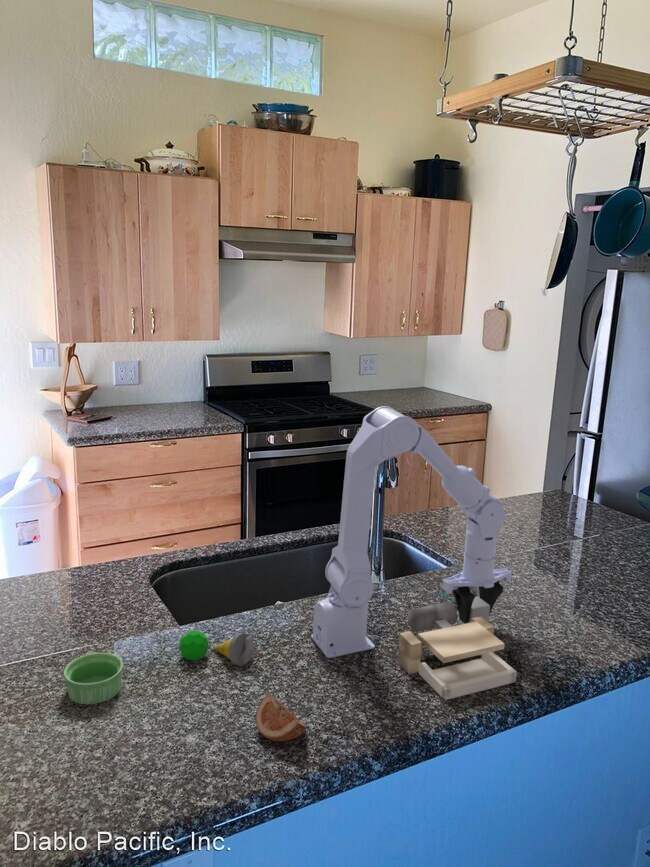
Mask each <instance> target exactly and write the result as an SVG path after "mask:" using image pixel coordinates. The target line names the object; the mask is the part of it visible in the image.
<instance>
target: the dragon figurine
mask: <svg viewBox="0 0 650 867" xmlns="http://www.w3.org/2000/svg"><path fill="white" fill-rule="evenodd" d="M475 588H476V586H472V587H469V590H471V591H470V592H471V593H472V594H474V595H475V597H477V596H478V597H479V595H478V592H476V589H475ZM430 593H431V594H436V595H438V596H443V597H447V596H448V597H450V599H451V600H454V601H456V600H455V597H454V595H453V593H452V592H450V593H447V592H445V593H444V594H441V593H439V592H436V591H435V592H432V591H431V592H430Z"/></svg>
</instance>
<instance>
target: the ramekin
mask: <svg viewBox="0 0 650 867" xmlns="http://www.w3.org/2000/svg"><path fill="white" fill-rule="evenodd" d="M123 670H124V662H123V659H122V658H121V657H119V656H118V655H116V654H113V653H110V652H93V653H89V654H84V655H82V656H79V657H77V658H75V659H73V660H71V661H70V662H69V663H68V664H67V665H66V666H65V668H64V670H63V677H64V680H65V683H66V688H67V694H68V697H69V699H70V700H71V701H73V702H74V703H77V704H81V705H94V704H99V703H100V704H101V703H103V702H106V701H108V700H111V699H112V698H114V697H115V696H117V694H118V693H119V692H120V691H121V688H122V676H123V674H122V673H123Z"/></svg>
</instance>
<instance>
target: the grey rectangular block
mask: <svg viewBox="0 0 650 867" xmlns="http://www.w3.org/2000/svg"><path fill="white" fill-rule="evenodd" d="M489 613H490V605H489V604H487V603H486V602H485V601H483V600H482V599H481V598H480V596H479V595H478V596H477V597H475V598H474V600H473V603H472V606H471V612H470V620H469V623H471V622H472V618H476V617H480V616H481V617H482V618H484V619H485V620H486V621H488V622H489V623H490V621H489V620H490V615H489ZM490 614H491V613H490ZM458 624H459V625H462V624H465V623H463V622H462V621H461V620H460V618H459V617H458Z"/></svg>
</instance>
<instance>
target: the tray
mask: <svg viewBox="0 0 650 867" xmlns="http://www.w3.org/2000/svg"><path fill="white" fill-rule="evenodd" d="M517 673H518V672H517V670H516V669H514V668H513V667H512V666H511V665H509V664H508V662H506V661H505V660H503V659H502V658H501V657H500V656H498V655H497V653H495V651H494V652H489V653H485V654H482V657H481V658H477V659H473V660H469V661H464V662H461V663H457V664H453V665H447V666H445V667H439V668H434V669H432V668H431V667H430V666H429V665H428V664H427V663H426V662H425V661H424V662H420V663H419V672H418V675H419V676H420V677H421V678H422V679H423V680H424V681H425V682H426V683H427V684H428V685H429V686H430V687H431V688H432V689H433V690H434V691H435V692H436V693H437V694H438V695H439V696H440V697H441V698H442V699H443V700H444V701H448V700H451V699H455V698H458V697H462V696H463V697H464V696H467V695H470V694H474V693H478V692H482V691H486V690H489V689H495V688H498V687H502V686H507V685H510V684H513V683H516V682H517V675H518V674H517Z"/></svg>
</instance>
